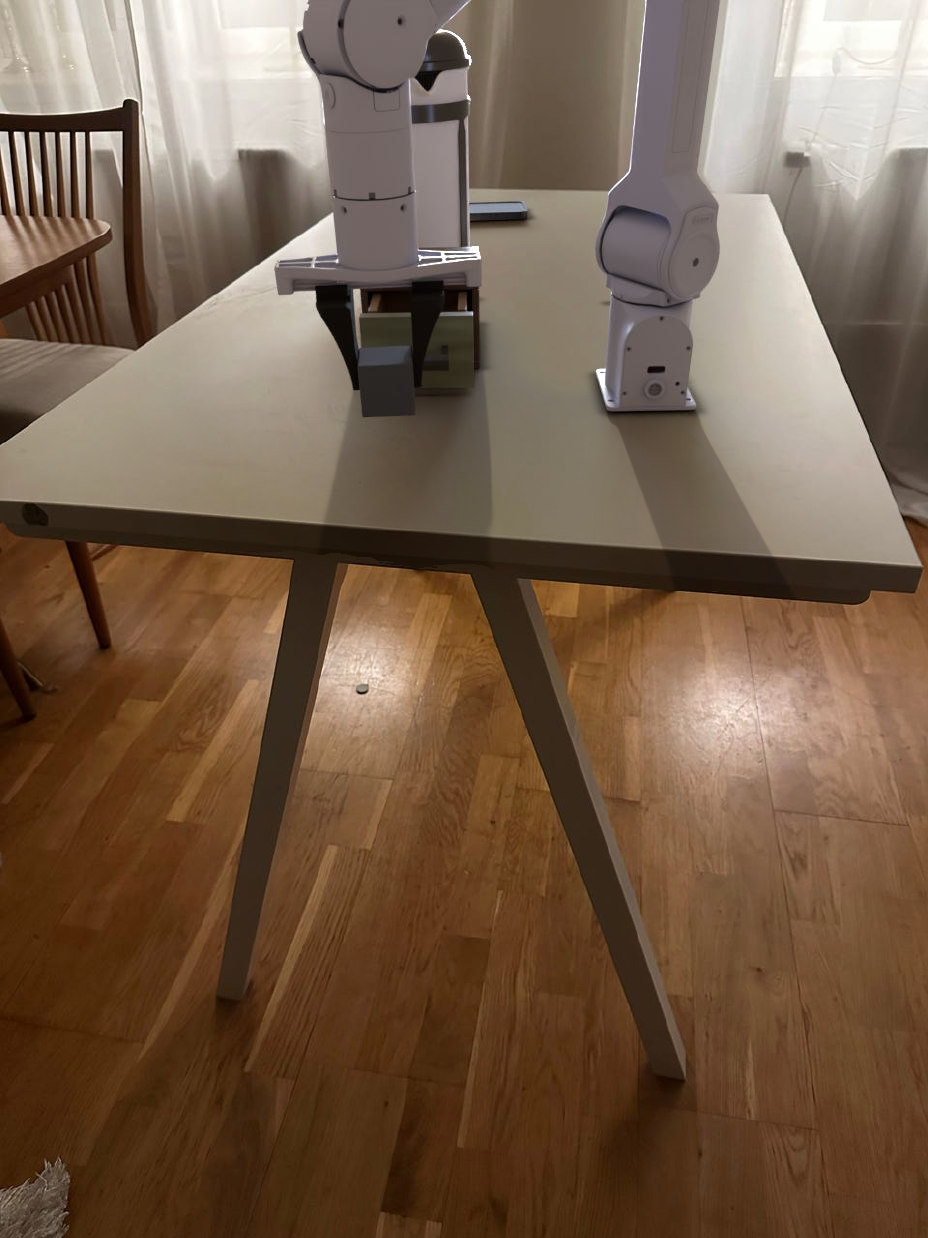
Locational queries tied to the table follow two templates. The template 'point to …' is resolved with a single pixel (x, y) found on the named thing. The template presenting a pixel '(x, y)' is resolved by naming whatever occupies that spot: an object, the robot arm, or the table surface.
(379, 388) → the block
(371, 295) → the cabinet
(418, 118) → the coffee press
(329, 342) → the table surface
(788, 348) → the table surface
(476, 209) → the phone
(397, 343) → the drawer
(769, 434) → the table surface
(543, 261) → the table surface
